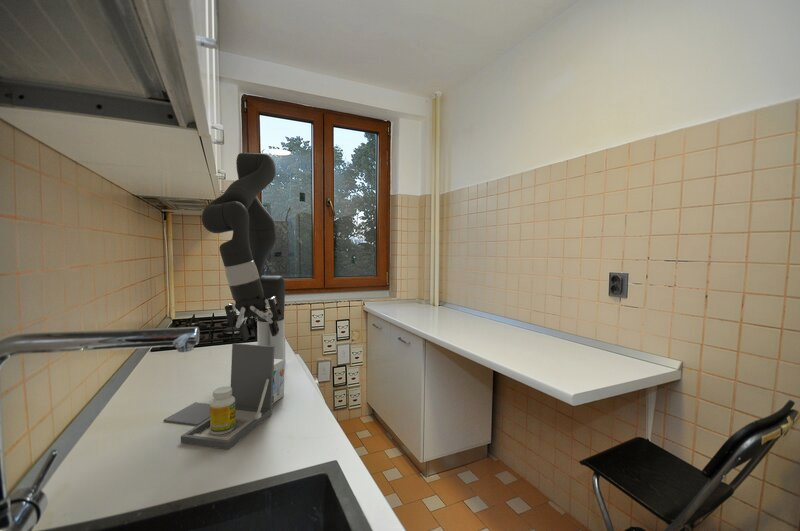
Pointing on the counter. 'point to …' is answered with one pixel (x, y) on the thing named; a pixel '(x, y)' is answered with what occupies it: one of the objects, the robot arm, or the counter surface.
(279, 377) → the light bulb box
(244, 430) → the case
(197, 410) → the pad
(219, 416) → the supplement bottle
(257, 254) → the robot arm
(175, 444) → the counter surface
